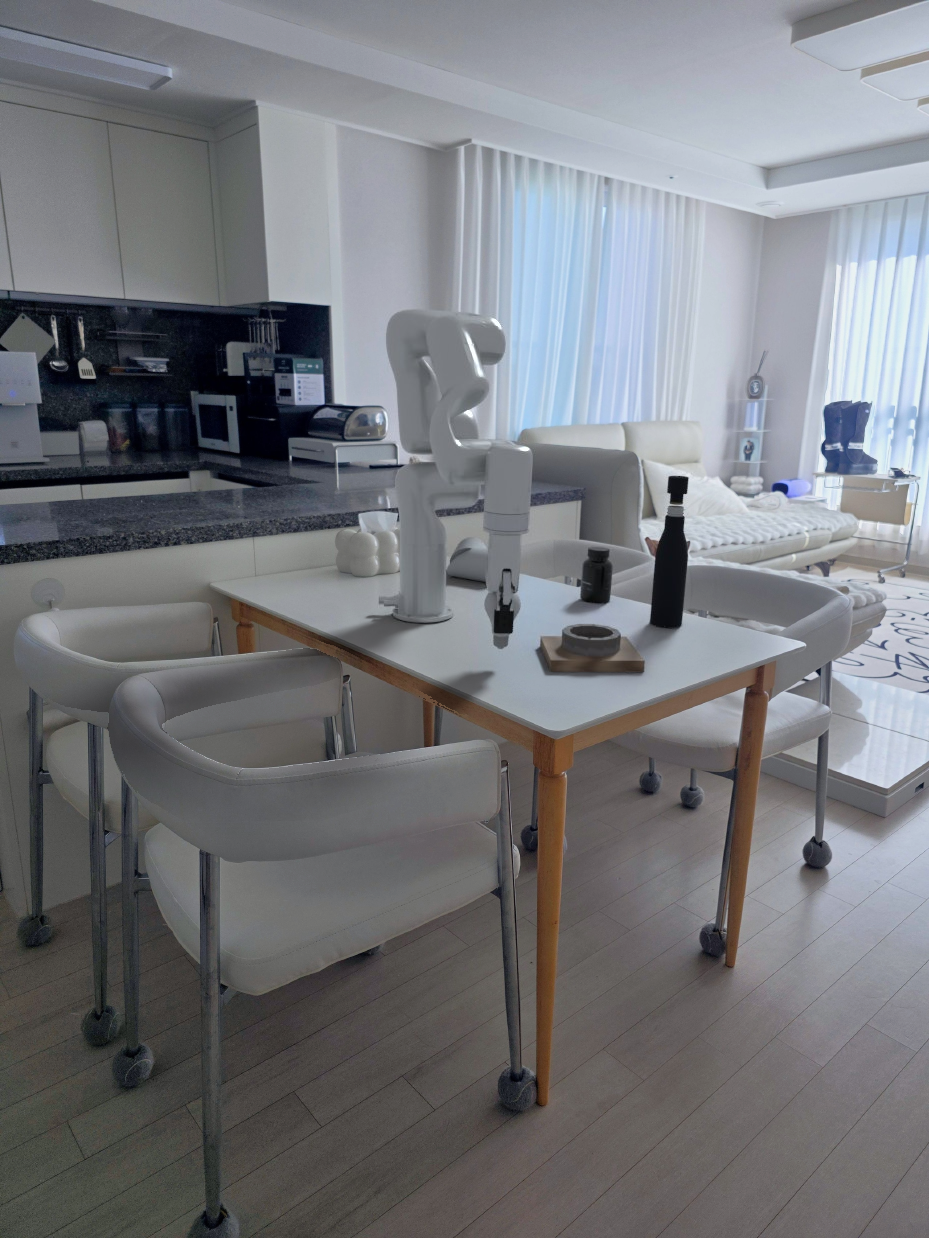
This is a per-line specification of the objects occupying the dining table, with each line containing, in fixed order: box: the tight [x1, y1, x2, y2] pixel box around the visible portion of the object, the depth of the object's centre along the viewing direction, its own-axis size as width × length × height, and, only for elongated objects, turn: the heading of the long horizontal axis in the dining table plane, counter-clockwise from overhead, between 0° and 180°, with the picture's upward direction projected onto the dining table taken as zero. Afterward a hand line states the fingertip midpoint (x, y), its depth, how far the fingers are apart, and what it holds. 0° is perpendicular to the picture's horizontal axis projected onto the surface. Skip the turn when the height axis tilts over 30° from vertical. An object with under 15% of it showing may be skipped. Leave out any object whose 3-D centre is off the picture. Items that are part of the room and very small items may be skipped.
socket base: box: [539, 623, 646, 673], centre depth 146 cm, size 16×14×5 cm
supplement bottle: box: [579, 546, 614, 605], centre depth 186 cm, size 7×7×12 cm
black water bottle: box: [649, 475, 690, 629], centre depth 165 cm, size 6×6×30 cm
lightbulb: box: [484, 588, 522, 650], centre depth 139 cm, size 6×6×11 cm
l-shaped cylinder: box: [446, 536, 487, 583], centre depth 209 cm, size 18×11×20 cm
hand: (501, 625), depth 140 cm, fingers closed on lightbulb, 6 cm apart
